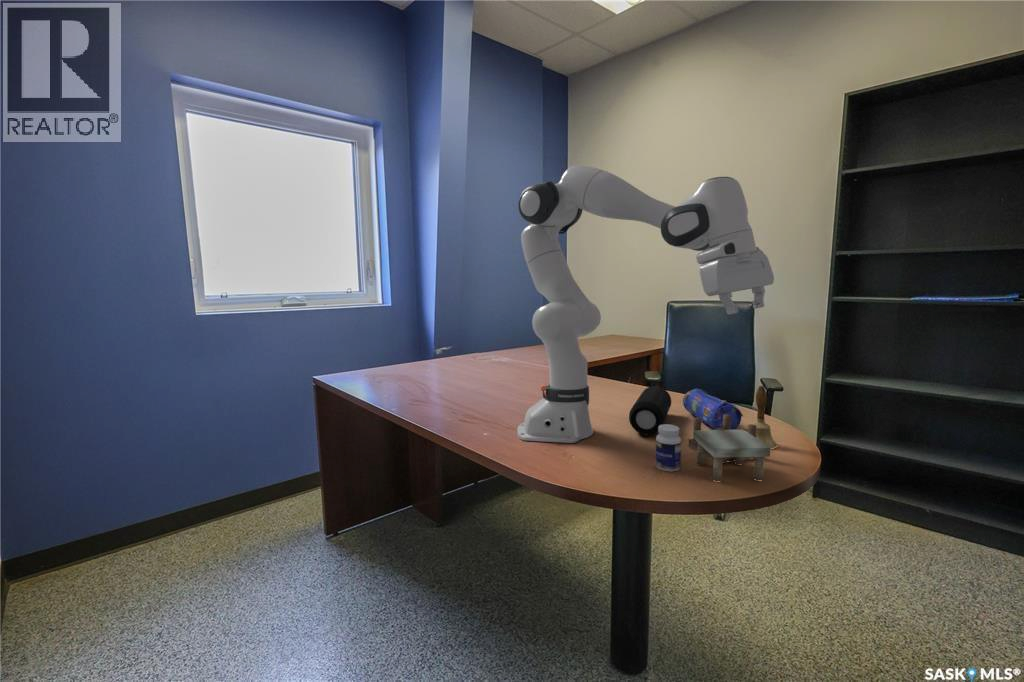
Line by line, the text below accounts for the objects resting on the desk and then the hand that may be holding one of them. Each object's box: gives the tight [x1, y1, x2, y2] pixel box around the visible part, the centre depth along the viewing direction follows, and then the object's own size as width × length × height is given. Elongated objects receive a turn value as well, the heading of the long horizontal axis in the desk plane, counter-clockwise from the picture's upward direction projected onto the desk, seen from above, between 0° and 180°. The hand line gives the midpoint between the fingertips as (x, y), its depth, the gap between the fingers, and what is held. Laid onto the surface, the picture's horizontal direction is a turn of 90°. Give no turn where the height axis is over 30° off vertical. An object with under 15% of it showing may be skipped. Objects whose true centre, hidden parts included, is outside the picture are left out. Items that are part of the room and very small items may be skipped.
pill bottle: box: [654, 423, 682, 472], centre depth 107 cm, size 6×6×10 cm
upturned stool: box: [687, 414, 756, 463], centre depth 115 cm, size 12×12×8 cm
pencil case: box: [682, 388, 744, 430], centre depth 138 cm, size 22×9×10 cm, turn 3°
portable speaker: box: [628, 385, 672, 436], centre depth 138 cm, size 26×10×10 cm, turn 155°
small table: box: [692, 429, 771, 481], centre depth 104 cm, size 12×12×8 cm
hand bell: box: [751, 385, 778, 448], centre depth 119 cm, size 8×8×16 cm
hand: (746, 310), depth 98 cm, fingers open, 8 cm apart
